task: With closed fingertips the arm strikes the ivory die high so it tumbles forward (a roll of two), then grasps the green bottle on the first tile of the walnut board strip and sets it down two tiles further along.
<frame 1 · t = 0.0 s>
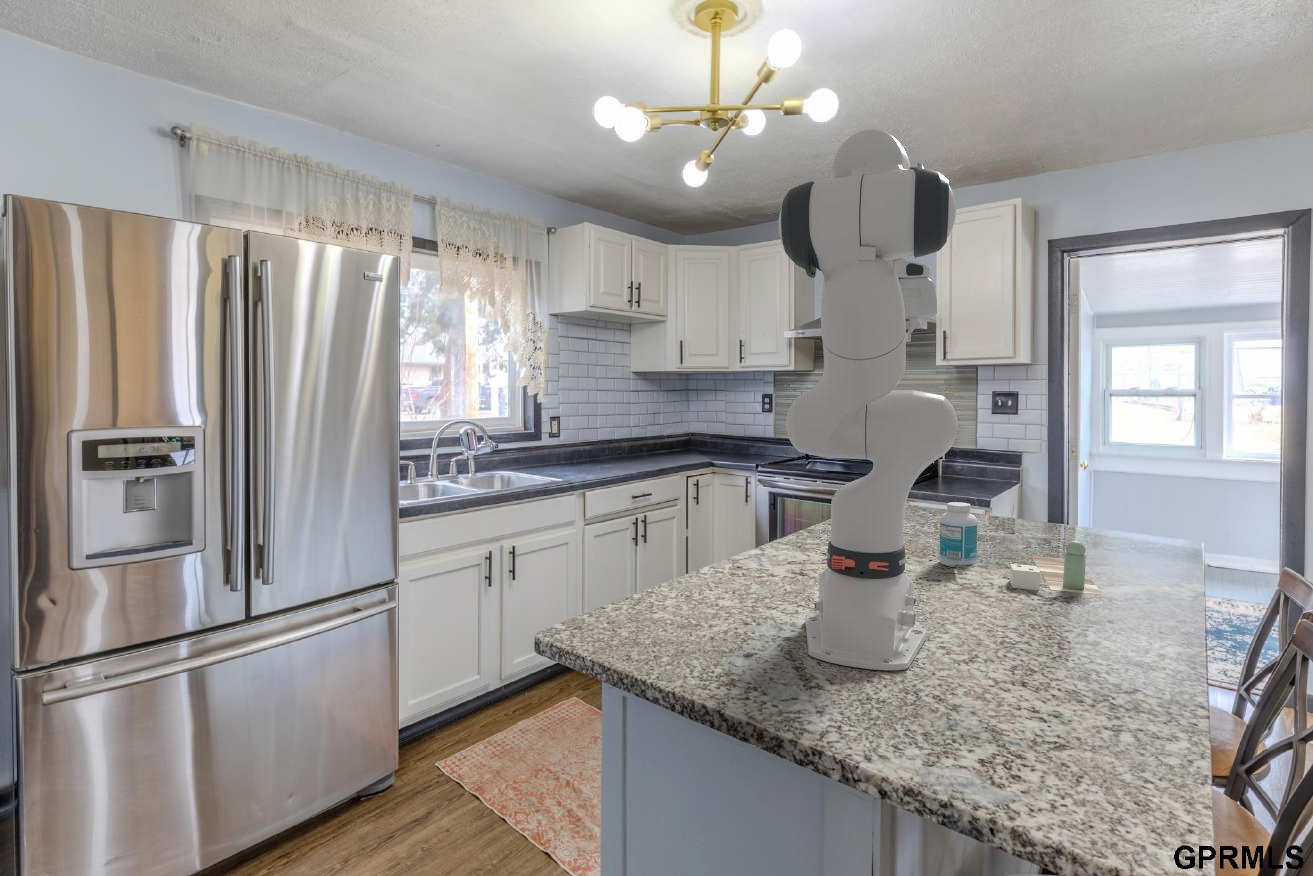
hand: (881, 342, 132), 48 cm above the countertop, fingers open, 8 cm apart
board: (1063, 578, 134), on the countertop
green bottle: (1073, 587, 125), point 1 cm above the countertop, touching board
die: (1023, 590, 127), on the countertop
pill bottle: (957, 565, 145), on the countertop
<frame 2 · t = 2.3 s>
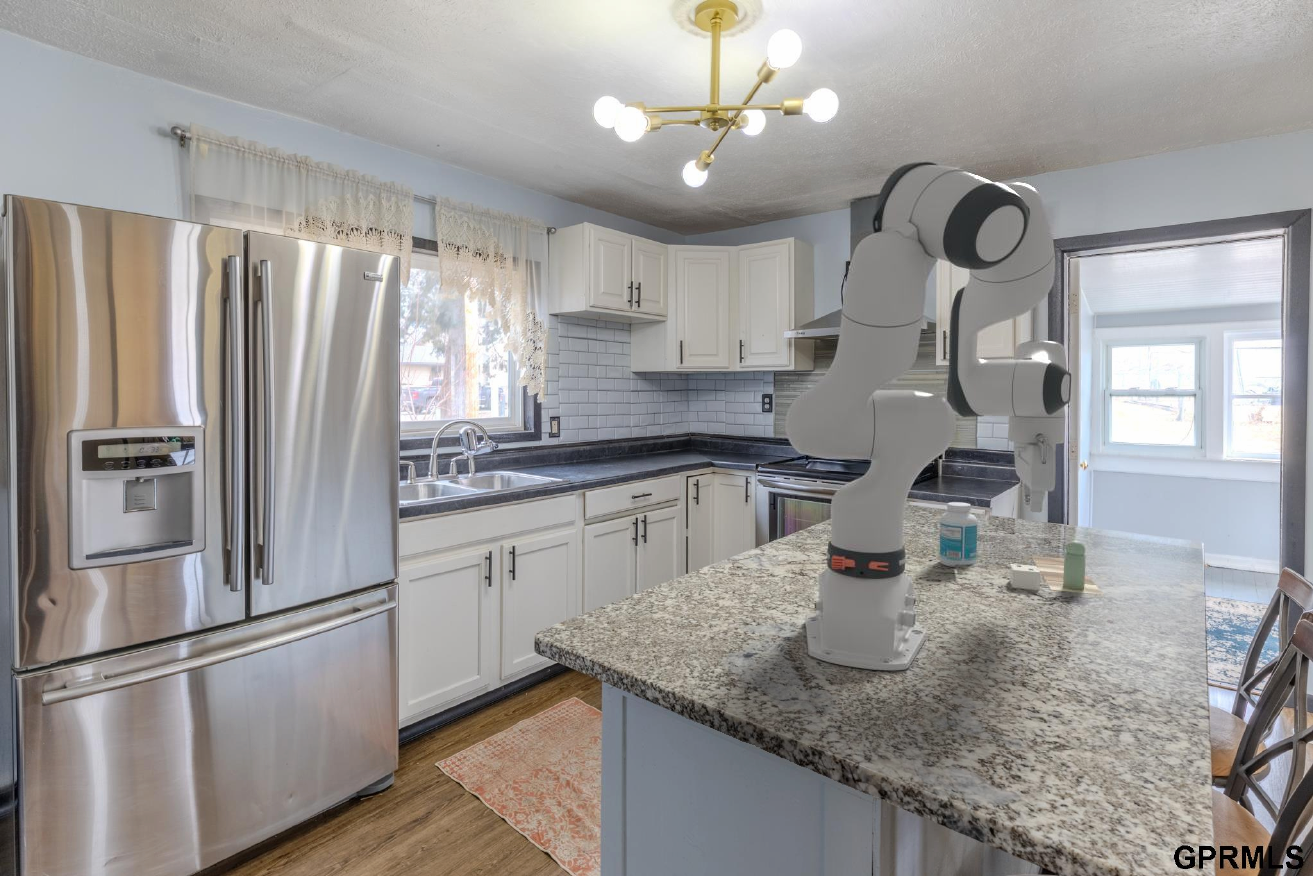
hand: (1032, 508, 120), 17 cm above the countertop, fingers open, 5 cm apart
nothing on the countertop moved.
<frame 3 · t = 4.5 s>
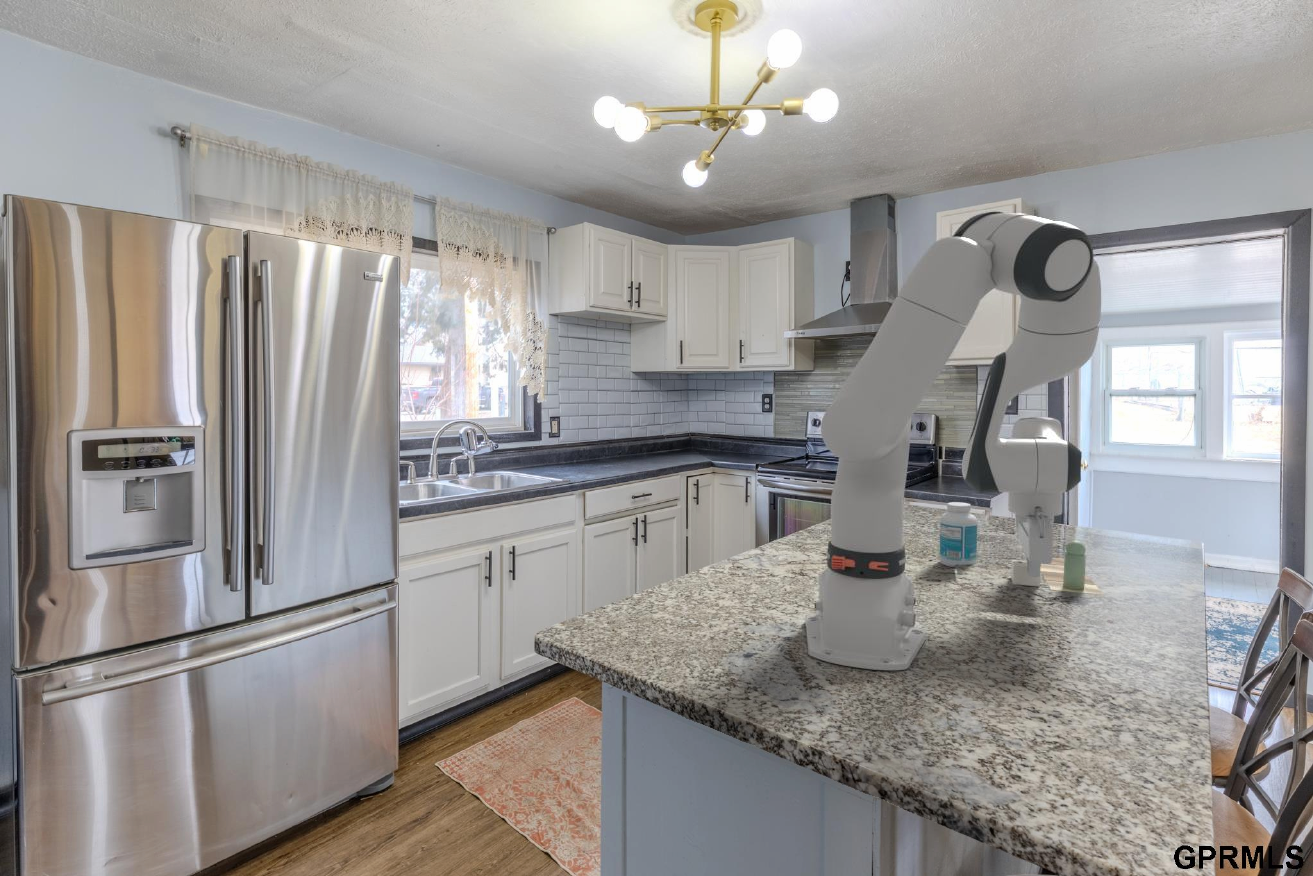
hand: (1033, 575, 125), 3 cm above the countertop, fingers closed
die: (1024, 586, 129), on the countertop
everything else where it was.
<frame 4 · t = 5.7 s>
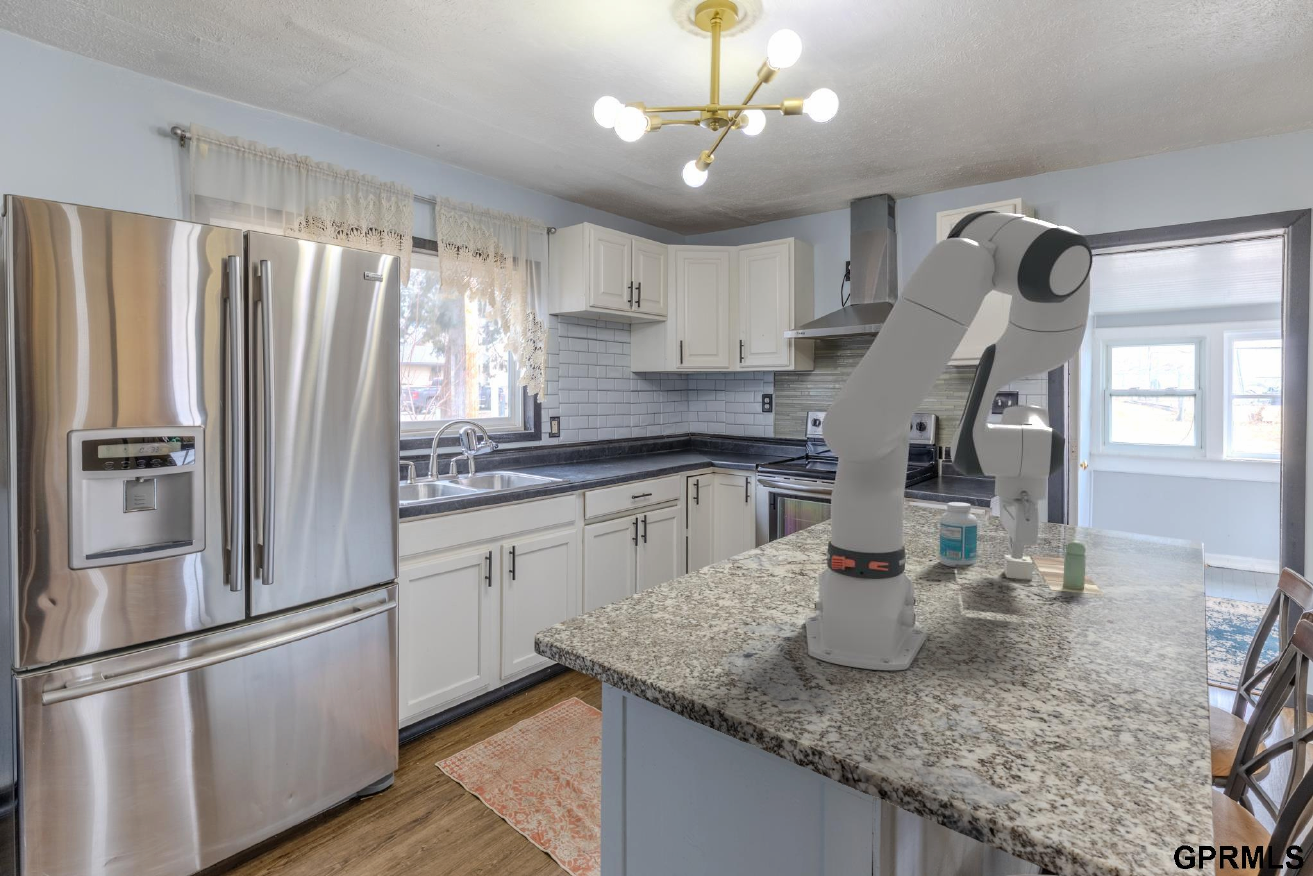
hand: (1016, 557, 130), 5 cm above the countertop, fingers closed
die: (1017, 580, 133), on the countertop
everything else where it was.
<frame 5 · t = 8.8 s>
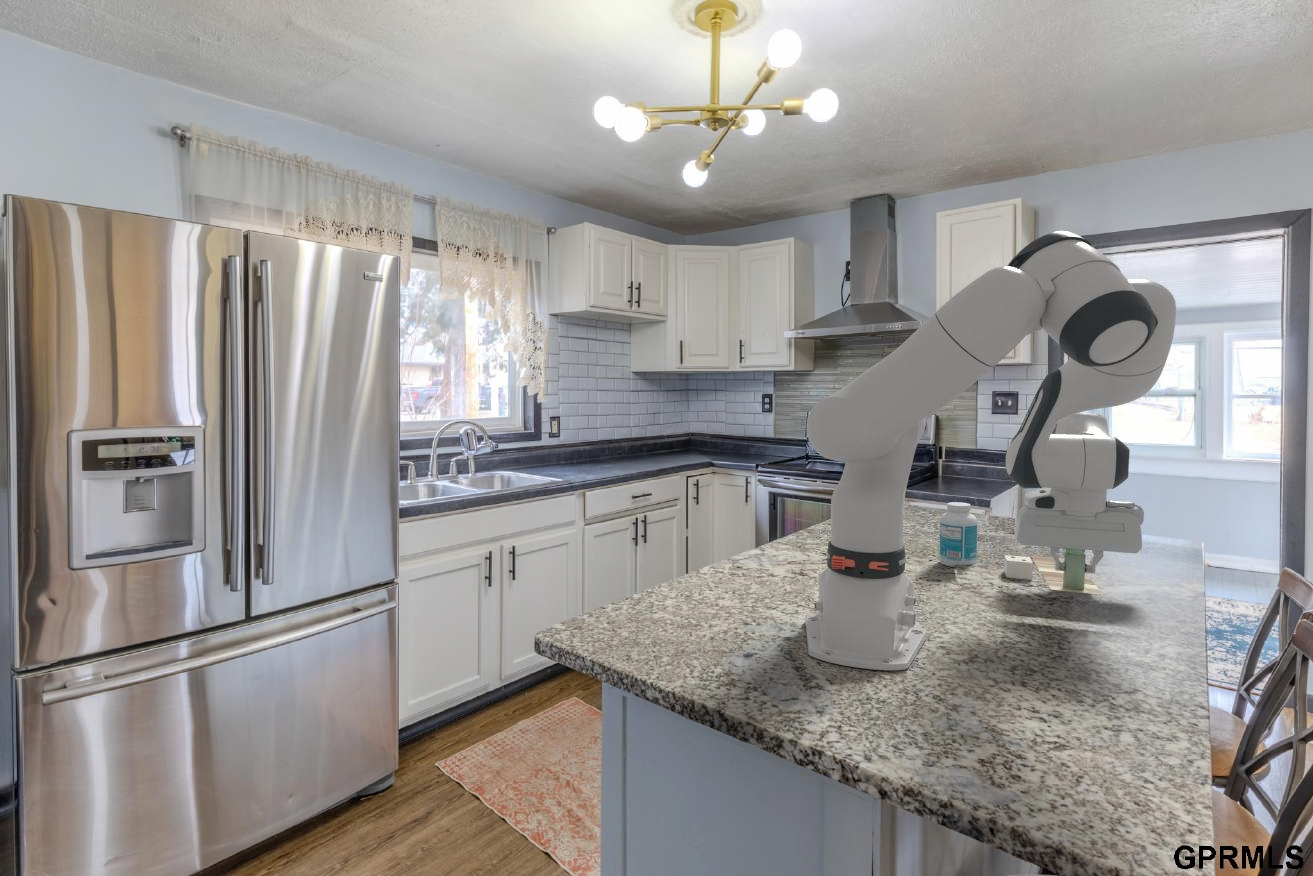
hand: (1074, 571, 125), 4 cm above the countertop, fingers closed on green bottle, 3 cm apart
green bottle: (1073, 587, 125), point 1 cm above the countertop, touching board, gripper
everything else where it was.
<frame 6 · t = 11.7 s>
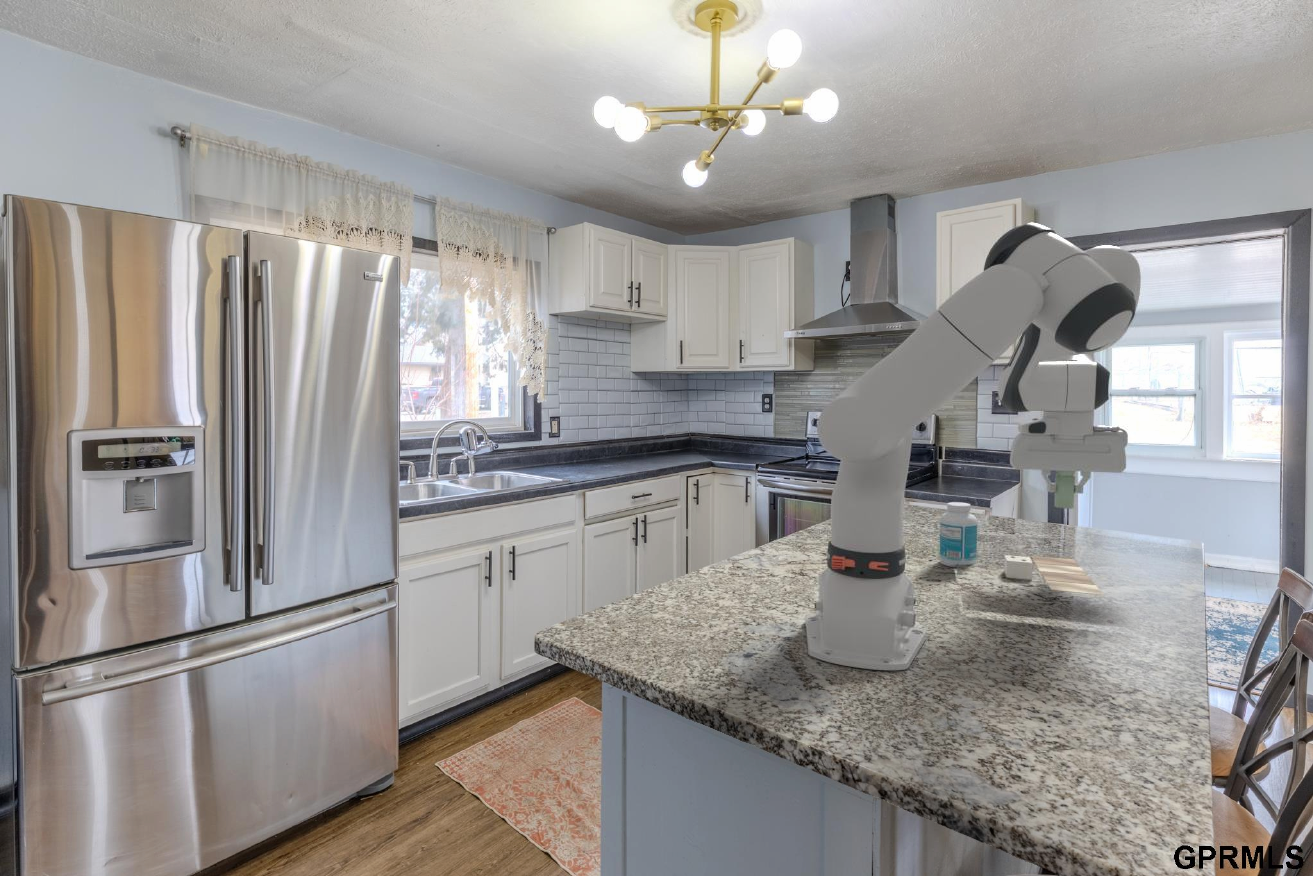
hand: (1064, 492, 136), 17 cm above the countertop, fingers closed on green bottle, 3 cm apart
green bottle: (1063, 507, 136), point 14 cm above the countertop, touching gripper
everything else where it was.
when the fingers open (5 cm above the countertop, at t = 14.1 s): green bottle stays where it is, resting on board.
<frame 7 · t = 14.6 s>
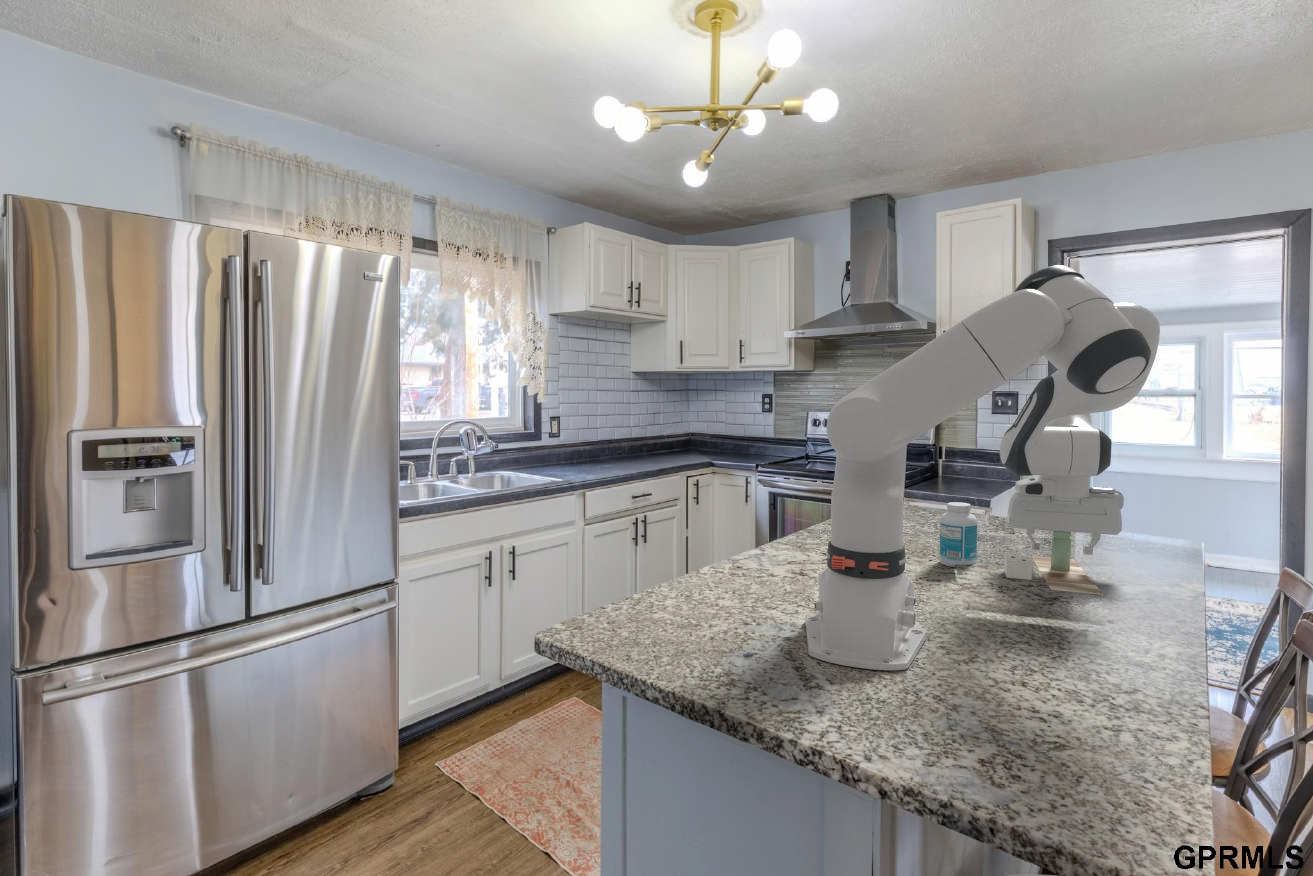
hand: (1061, 552, 137), 5 cm above the countertop, fingers open, 8 cm apart
green bottle: (1060, 569, 137), point 1 cm above the countertop, touching board
everything else where it was.
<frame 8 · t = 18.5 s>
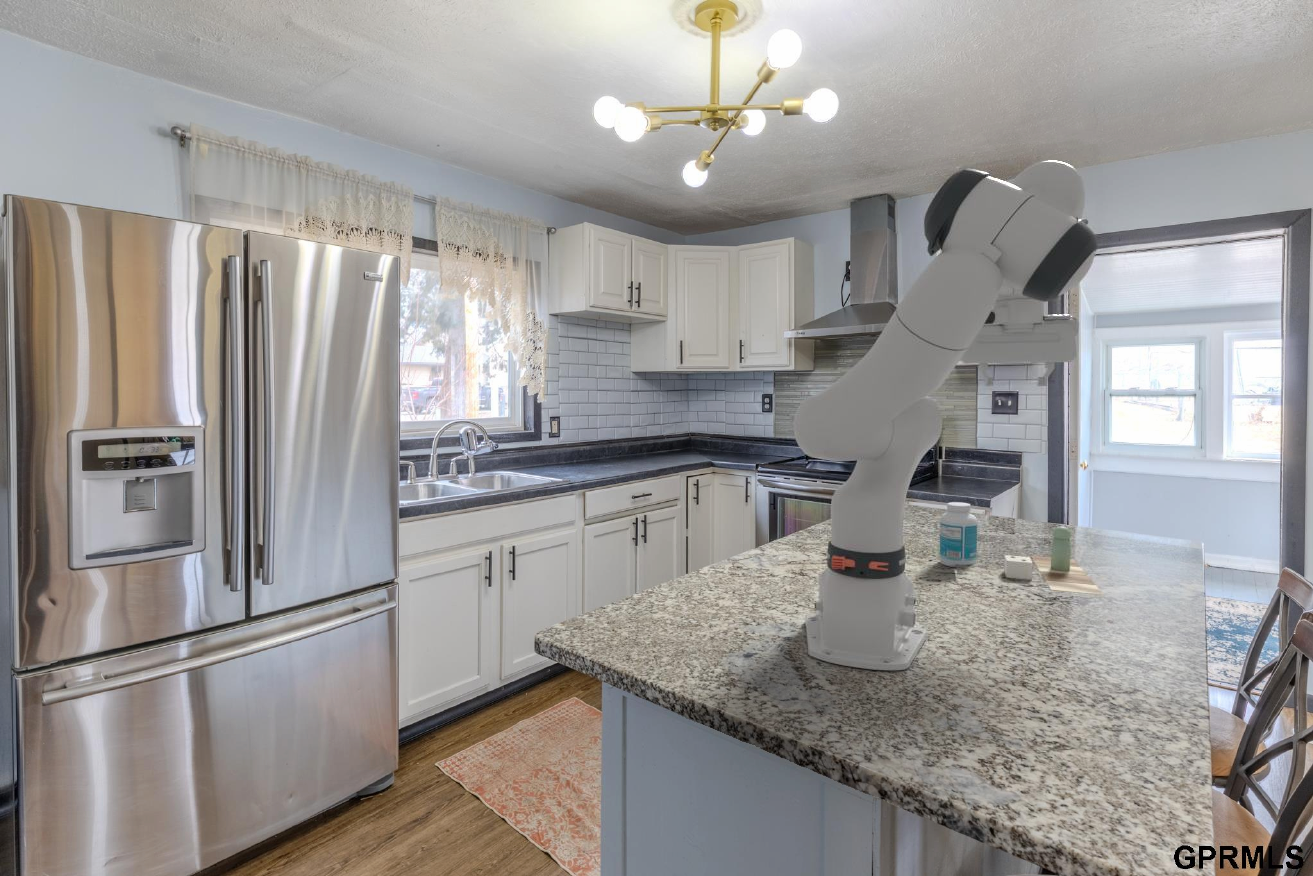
hand: (1015, 386, 132), 39 cm above the countertop, fingers open, 8 cm apart
nothing on the countertop moved.
at the end: green bottle inside the target area (0.0 cm from its centre), point 1.0 cm above the countertop; green bottle tilted 0°; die moved 6.8 cm from its start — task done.
